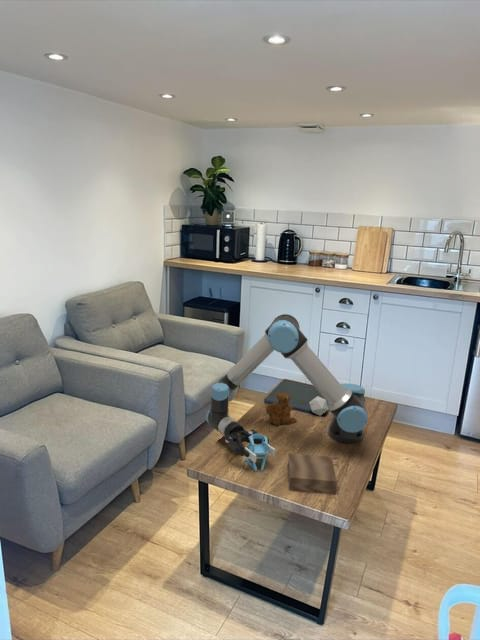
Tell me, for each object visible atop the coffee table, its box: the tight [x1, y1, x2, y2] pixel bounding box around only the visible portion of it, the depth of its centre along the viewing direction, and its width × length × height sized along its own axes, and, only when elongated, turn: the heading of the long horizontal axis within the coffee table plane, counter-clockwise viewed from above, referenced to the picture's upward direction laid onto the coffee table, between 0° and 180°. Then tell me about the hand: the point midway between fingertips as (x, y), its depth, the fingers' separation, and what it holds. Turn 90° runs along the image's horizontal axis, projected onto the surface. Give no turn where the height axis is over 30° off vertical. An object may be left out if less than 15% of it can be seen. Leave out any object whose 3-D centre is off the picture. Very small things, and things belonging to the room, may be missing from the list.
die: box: [308, 395, 330, 417], centre depth 223 cm, size 8×9×10 cm
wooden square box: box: [287, 453, 338, 495], centre depth 169 cm, size 16×16×5 cm
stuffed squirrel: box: [264, 392, 298, 427], centre depth 212 cm, size 10×14×13 cm
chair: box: [244, 433, 269, 472], centre depth 176 cm, size 8×8×12 cm
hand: (265, 455), depth 172 cm, fingers closed on chair, 8 cm apart
